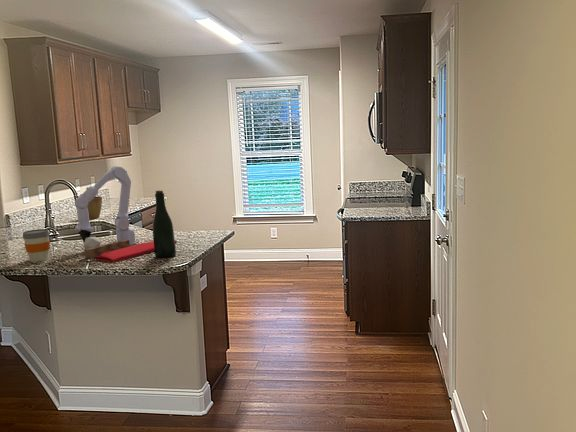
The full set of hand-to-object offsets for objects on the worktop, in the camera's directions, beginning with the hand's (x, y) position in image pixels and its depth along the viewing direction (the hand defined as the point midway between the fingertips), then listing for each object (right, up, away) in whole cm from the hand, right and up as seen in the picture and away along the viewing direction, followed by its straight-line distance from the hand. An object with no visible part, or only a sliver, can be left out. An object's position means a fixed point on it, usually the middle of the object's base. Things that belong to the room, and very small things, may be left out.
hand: (86, 243), depth 303 cm
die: (+4, -4, -2) cm, 6 cm away
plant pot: (-38, +13, +122) cm, 128 cm away
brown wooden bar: (+15, -4, -9) cm, 18 cm away
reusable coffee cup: (-19, -8, -15) cm, 25 cm away
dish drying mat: (+31, -5, -11) cm, 33 cm away
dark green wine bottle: (+48, -5, -24) cm, 54 cm away
